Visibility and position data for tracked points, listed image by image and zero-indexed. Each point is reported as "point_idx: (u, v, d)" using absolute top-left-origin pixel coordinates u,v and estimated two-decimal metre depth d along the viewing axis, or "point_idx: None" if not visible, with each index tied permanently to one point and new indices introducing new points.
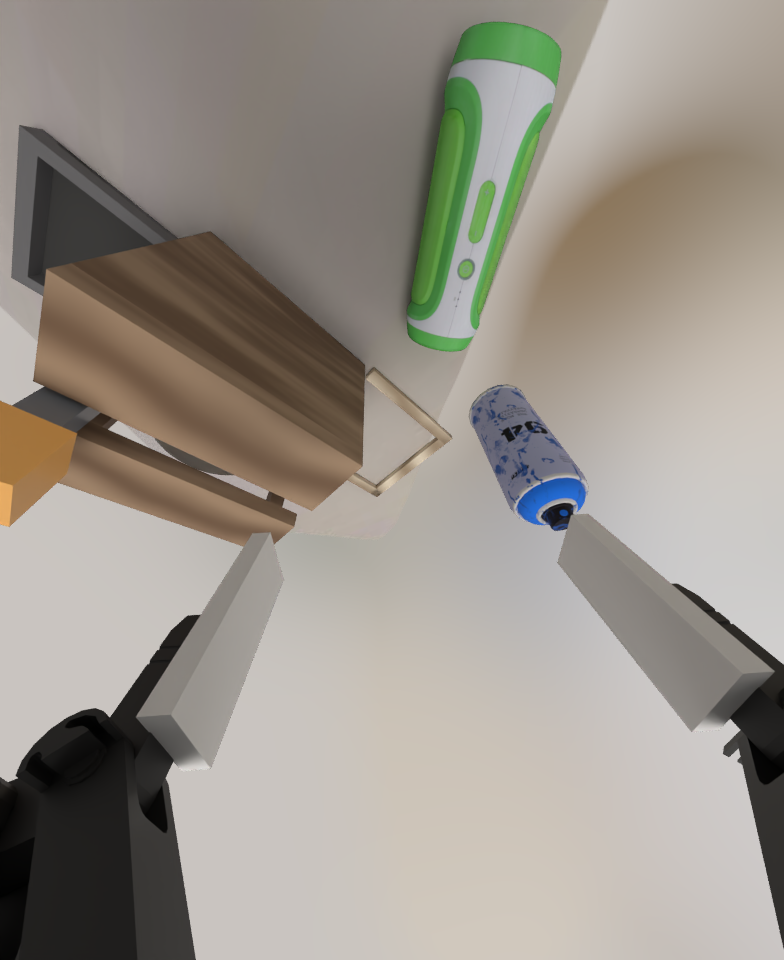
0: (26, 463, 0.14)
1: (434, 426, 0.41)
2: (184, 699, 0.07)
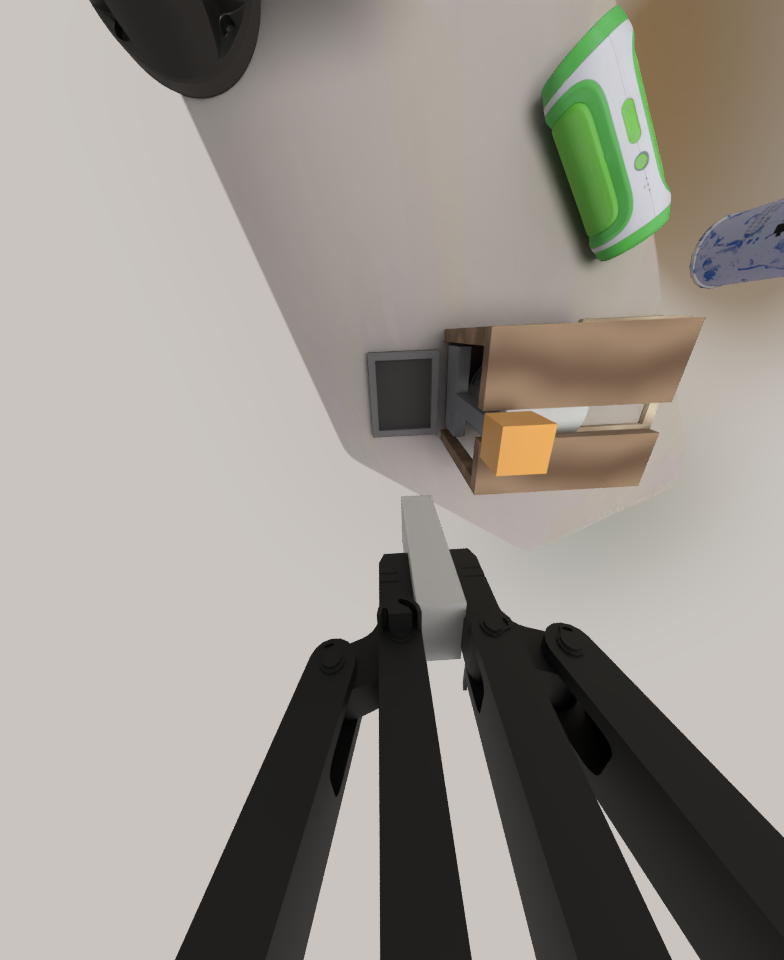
0: (544, 419, 0.22)
1: (665, 318, 0.40)
2: None
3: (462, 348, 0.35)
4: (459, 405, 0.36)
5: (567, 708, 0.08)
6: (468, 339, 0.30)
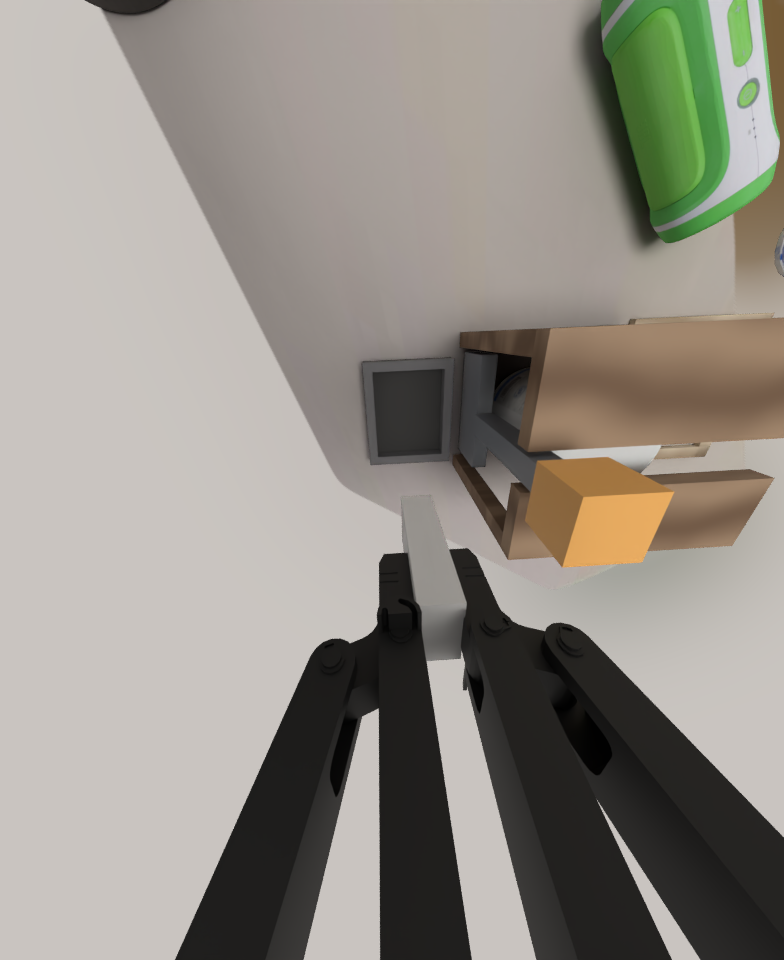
0: (643, 479, 0.13)
1: (739, 318, 0.32)
2: None
3: (486, 357, 0.27)
4: (482, 431, 0.27)
5: (567, 708, 0.08)
6: (500, 346, 0.22)
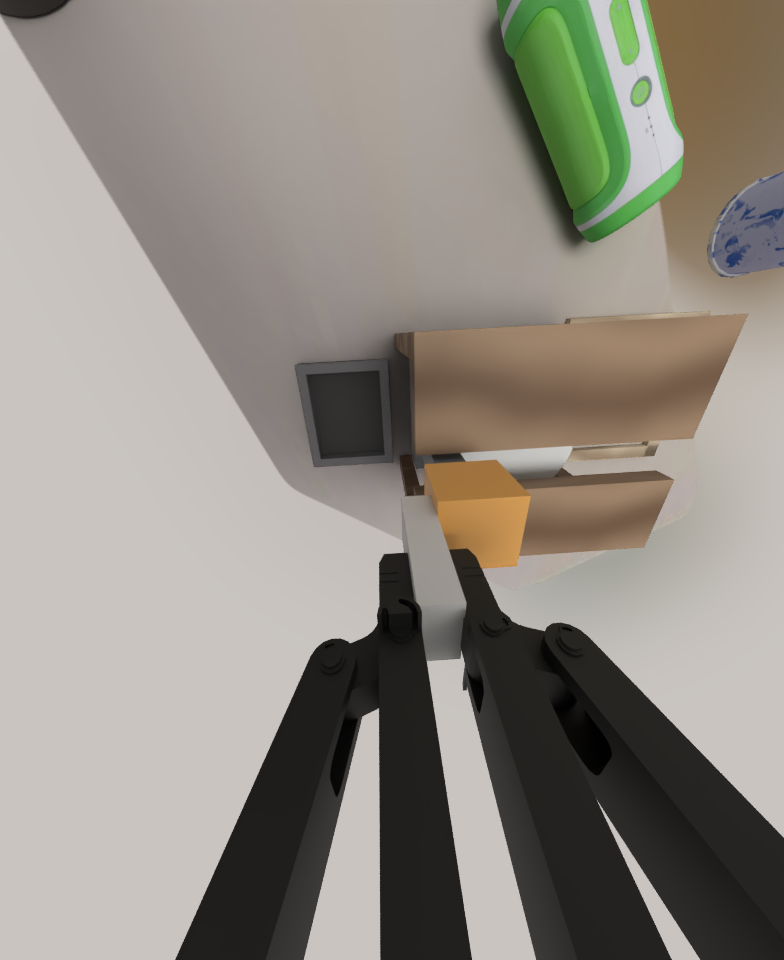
0: (511, 482, 0.13)
1: (676, 316, 0.31)
2: None
3: None
4: None
5: (567, 708, 0.08)
6: (404, 349, 0.21)
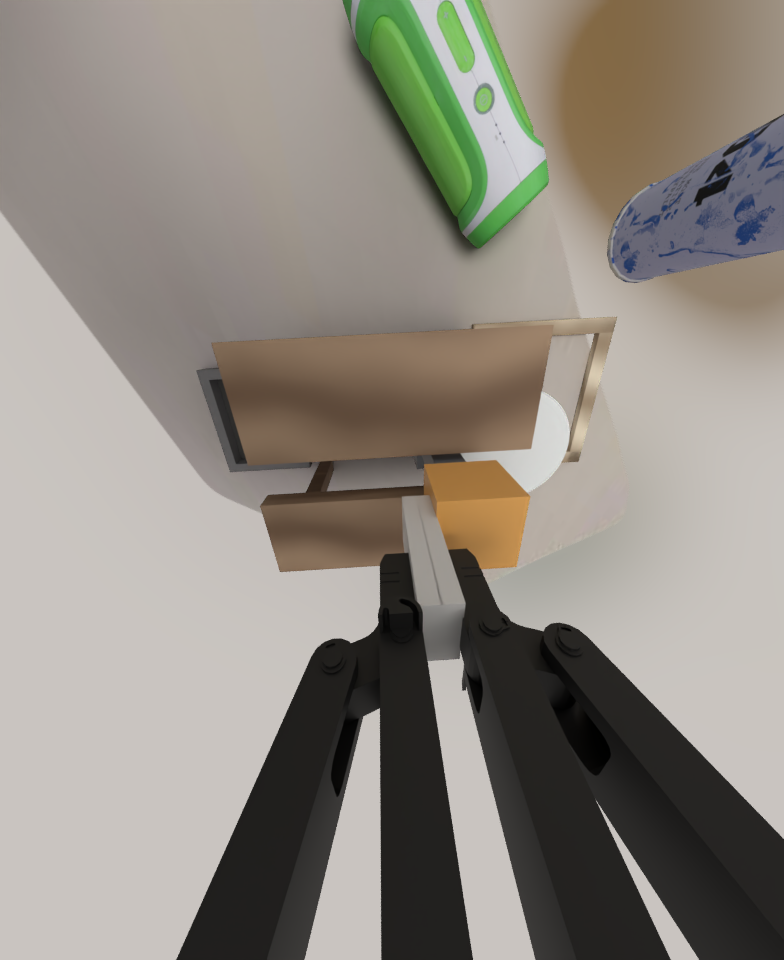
0: (510, 483, 0.13)
1: (582, 322, 0.31)
2: None
3: None
4: None
5: (566, 708, 0.08)
6: None
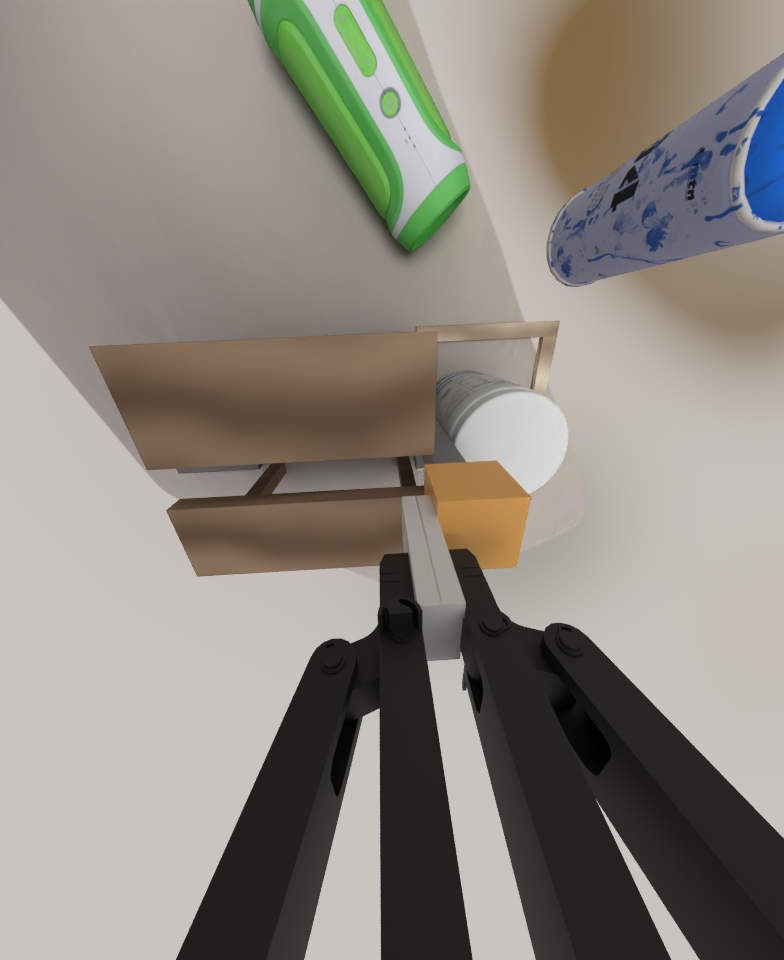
0: (511, 483, 0.13)
1: (525, 326, 0.31)
2: None
3: None
4: None
5: (566, 708, 0.08)
6: None
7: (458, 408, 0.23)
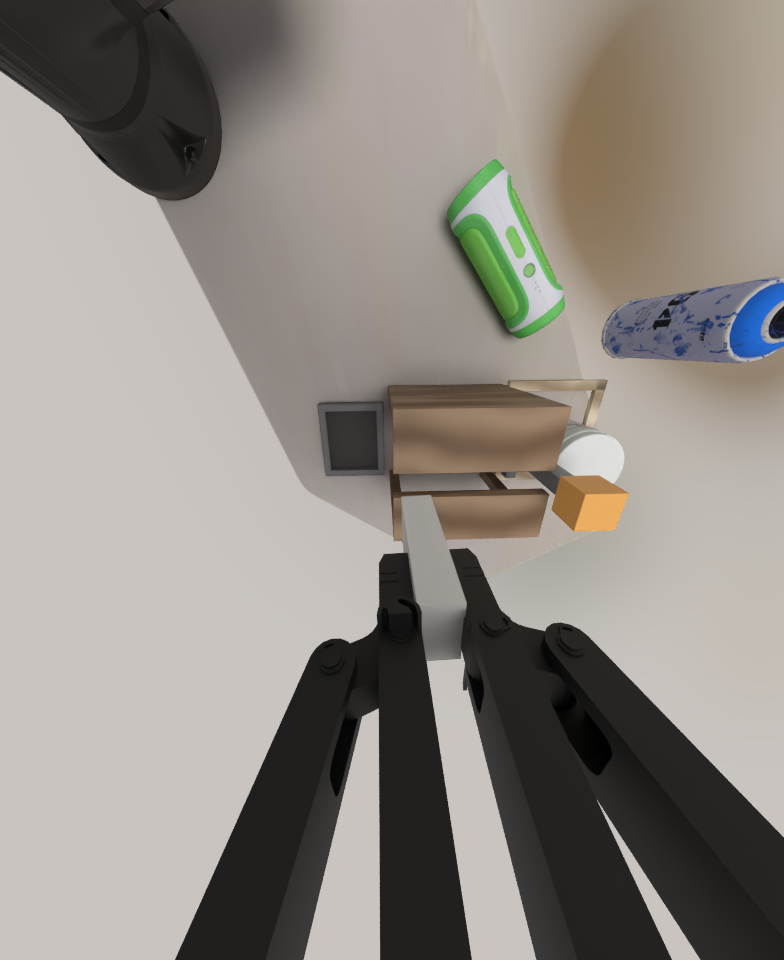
0: (615, 487, 0.27)
1: (583, 382, 0.45)
2: None
3: None
4: None
5: (567, 708, 0.08)
6: None
7: None
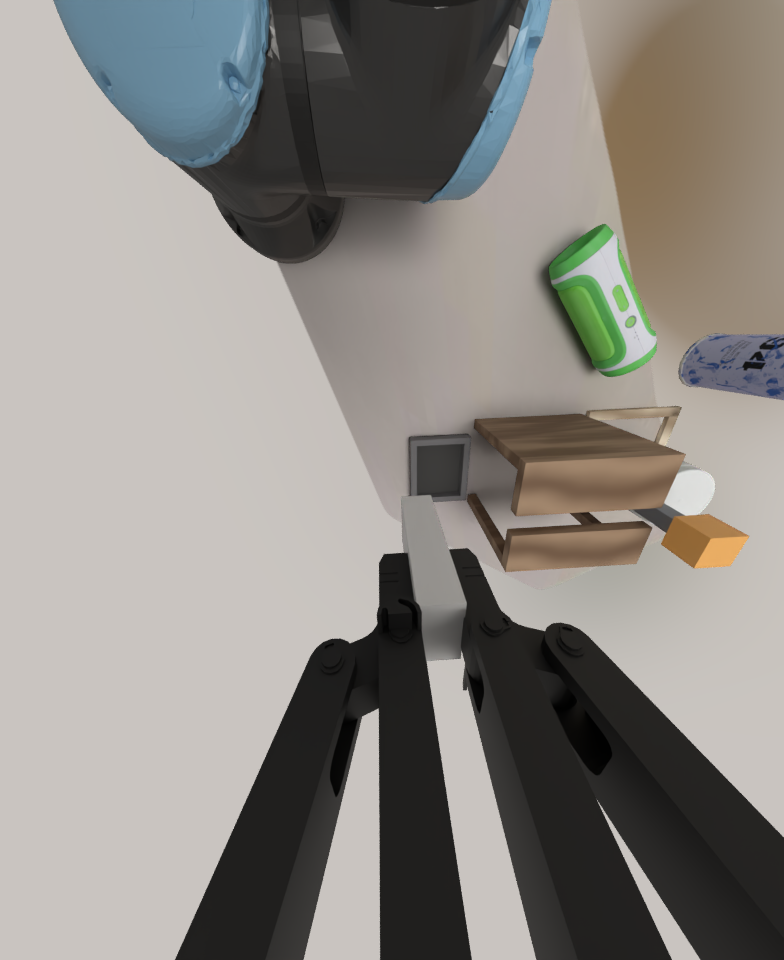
0: (732, 528, 0.30)
1: (659, 410, 0.48)
2: None
3: None
4: None
5: (567, 708, 0.08)
6: (501, 450, 0.38)
7: None
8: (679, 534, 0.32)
